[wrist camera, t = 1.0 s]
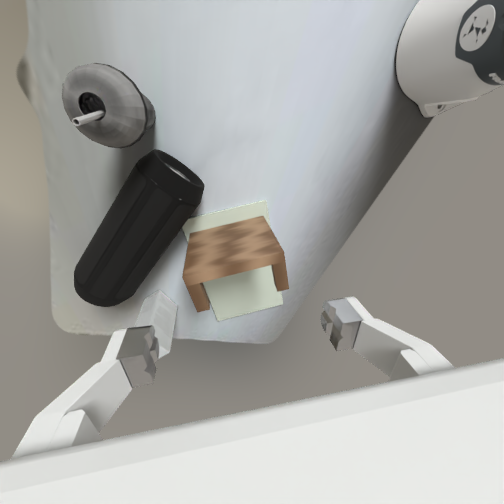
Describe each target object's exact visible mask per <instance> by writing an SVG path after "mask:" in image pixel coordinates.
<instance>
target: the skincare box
mask: <svg viewBox="0 0 504 504" xmlns="http://www.w3.org/2000/svg"><path fill="white" fill-rule="evenodd" d="M177 308H178V306H177V305H176V304H175V303H174V302H173V301H171V300H170V299H169V298H168V297H167V296H166V295H165V294H164V293H163V292H161V291H160V290H158V291H157V292H155V293H154V294H152V295H150V296H149V297H147V298H145V299H144V301H143V304H142V307H141V310H140V313H139V316H138V319H137V321H136V324H135V327H141V326H150V325H152V326H154V329H155V335H154V336H155V337H156V338H158V342H159V357H158V359H159V358H161V357H163V356H165V355H166V354H168V353H170V351H171V344H172V338H173V332H174V326H175V320H176V314H177Z"/></svg>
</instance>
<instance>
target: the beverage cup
mask: <svg viewBox="0 0 504 504" xmlns="http://www.w3.org/2000/svg"><path fill="white" fill-rule="evenodd" d="M62 100H63V104H64V108H65V111H66V113H67V115H68V116H69V118H70V120H71V122H72V123H73V124H74V125H75V126H76V128H77V129H78V130H79V131H80V132H81V133H82V134H84V135H85V136H87V137H88V138H89V139H91V140H92V141H95V142H97V143H100V144H102V145H105V146H108V147H114V148H124V147H128V146H132V145H133V144H135V143H136V142H138V141H139V140H140V139H141V137H142V136H143V134H144V133H145V131H147V130H148V129H150V128H151V126H152V125H153V124H154V121H155V110H154V107H153V105H152V104H151V102H150V101H149V99H148V98H147V97H145V96H144V95H143V94H142V93H141V92H140V91H139V89H138V88H137V86H136V85H135V83H134V82H133V81H132V80H131V79H130V78H129V77H128V76H126V75H125V74H124V73H123V72H122V71H120V70H118V69H116V68H114V67H112V66H110V65H105V64H99V63H93V64H87V65H82V66H78V67H77V68H75V69H74V70H73V71H71V72H70V73H69V74H68V75H67V77H66V79H65V81H64V83H63V89H62Z"/></svg>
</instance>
